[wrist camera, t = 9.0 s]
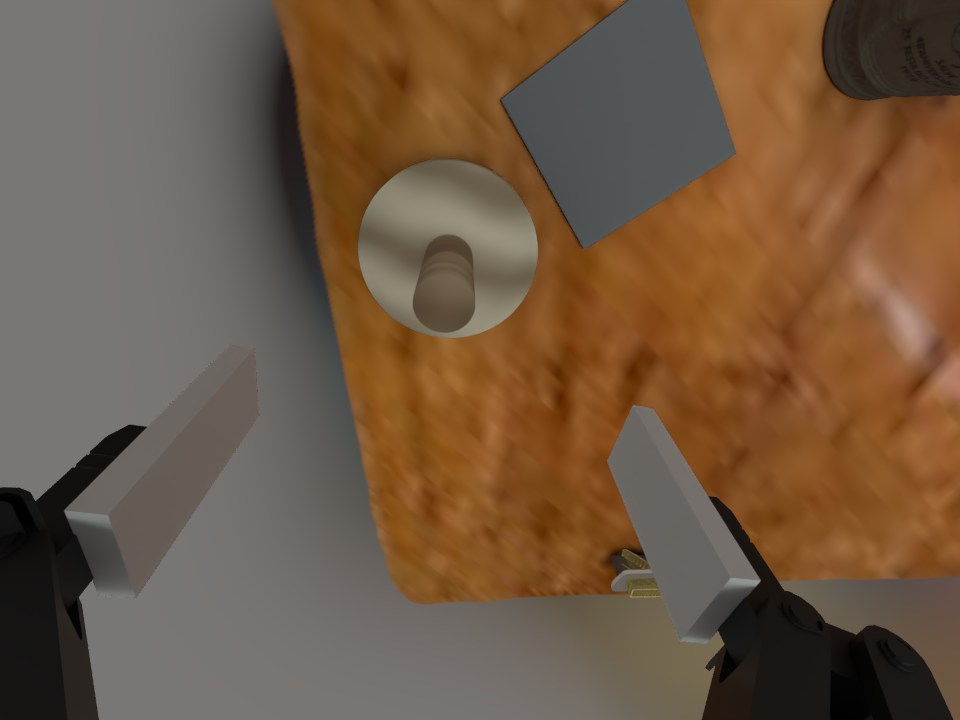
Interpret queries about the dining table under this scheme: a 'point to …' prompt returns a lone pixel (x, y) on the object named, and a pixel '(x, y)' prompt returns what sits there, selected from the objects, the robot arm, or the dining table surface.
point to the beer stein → (894, 48)
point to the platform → (633, 574)
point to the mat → (622, 117)
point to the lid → (448, 248)
